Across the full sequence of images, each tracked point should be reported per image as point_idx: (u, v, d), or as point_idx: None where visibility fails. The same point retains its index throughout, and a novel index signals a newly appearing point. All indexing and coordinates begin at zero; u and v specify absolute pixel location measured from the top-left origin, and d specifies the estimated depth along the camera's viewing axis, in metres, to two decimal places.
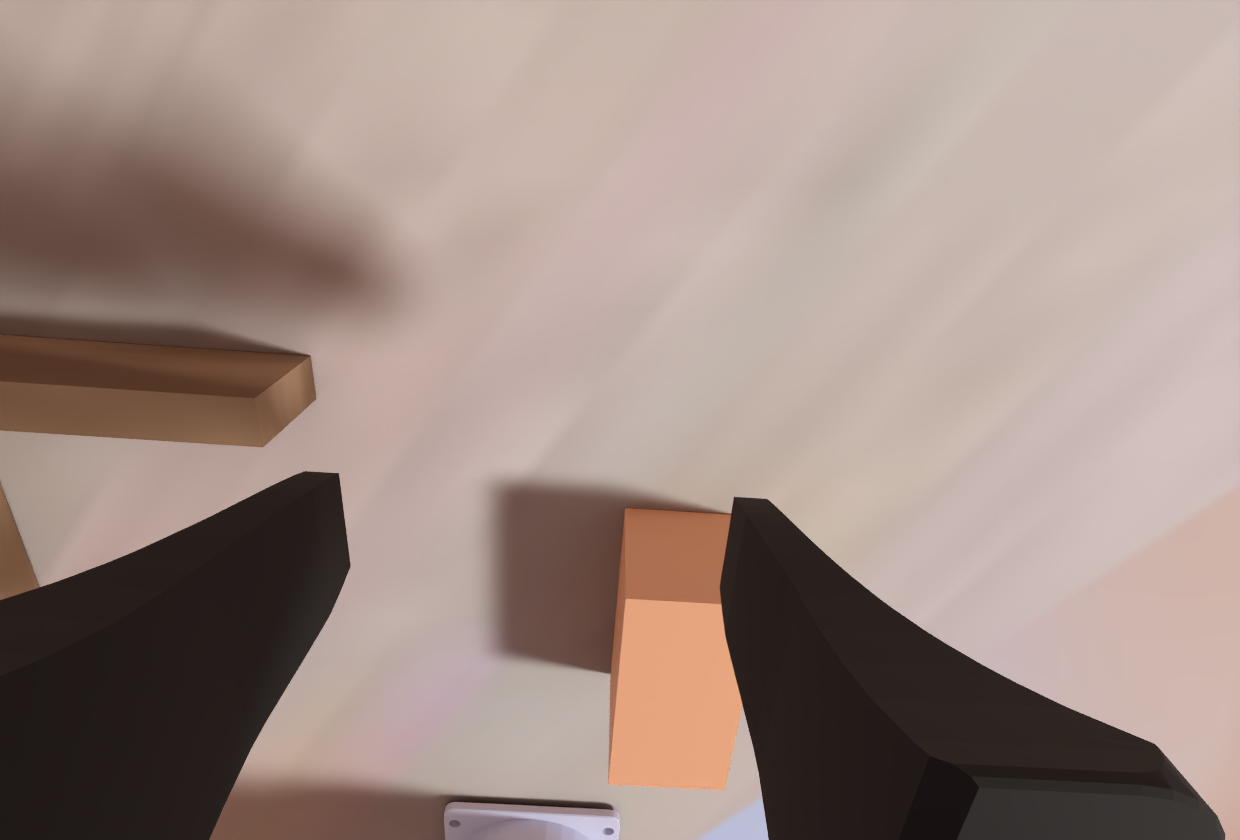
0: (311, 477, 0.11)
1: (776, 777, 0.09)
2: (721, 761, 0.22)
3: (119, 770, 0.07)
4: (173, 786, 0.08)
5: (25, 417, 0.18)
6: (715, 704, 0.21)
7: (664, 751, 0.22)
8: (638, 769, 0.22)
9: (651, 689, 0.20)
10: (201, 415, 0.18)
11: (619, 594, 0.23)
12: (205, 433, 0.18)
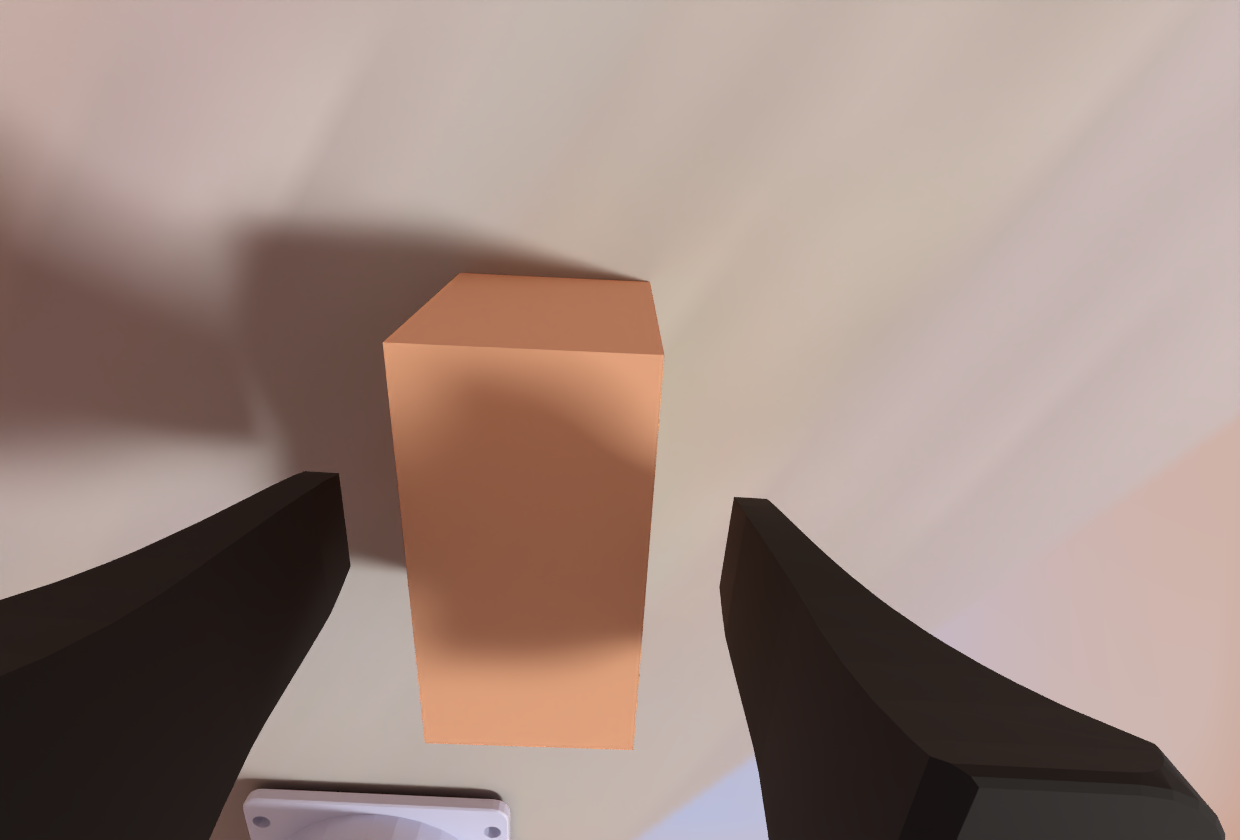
0: (312, 477, 0.11)
1: (776, 777, 0.09)
2: (620, 695, 0.12)
3: (119, 770, 0.07)
4: (173, 786, 0.08)
5: None
6: (596, 579, 0.11)
7: (515, 678, 0.12)
8: (473, 713, 0.12)
9: (470, 552, 0.11)
10: None
11: None
12: None
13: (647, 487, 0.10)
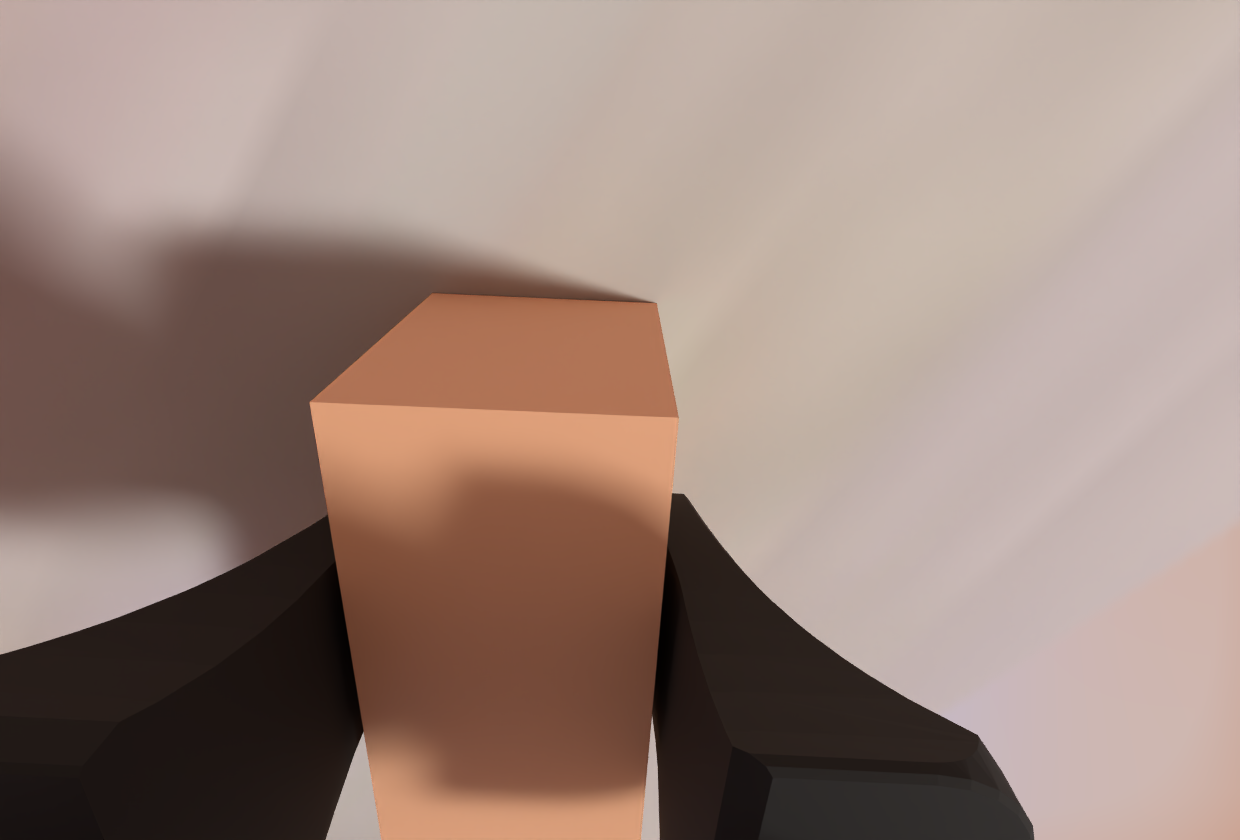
0: None
1: (665, 772, 0.09)
2: (622, 815, 0.10)
3: (263, 777, 0.07)
4: (300, 792, 0.08)
5: None
6: (592, 686, 0.09)
7: (493, 797, 0.10)
8: (443, 835, 0.10)
9: (432, 654, 0.09)
10: None
11: None
12: None
13: (656, 579, 0.08)
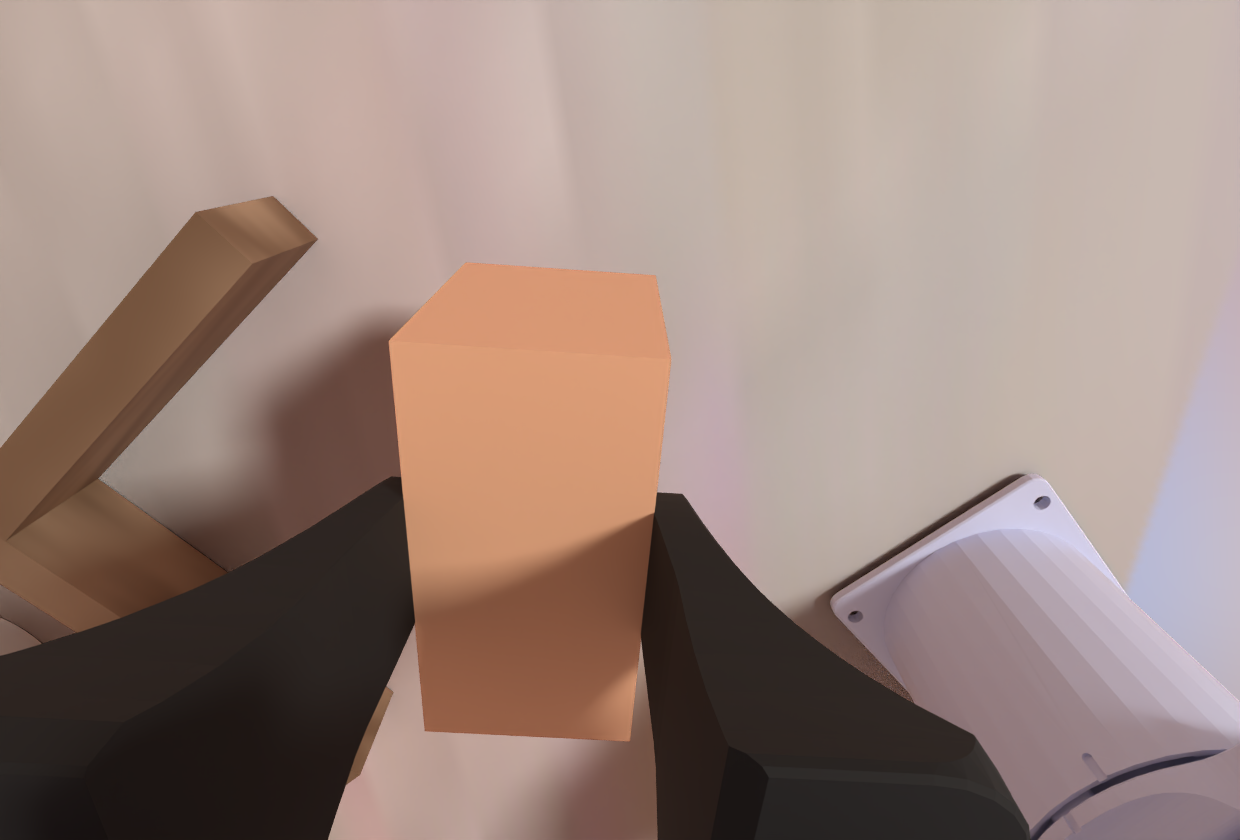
0: None
1: (663, 771, 0.09)
2: (618, 689, 0.12)
3: (266, 777, 0.07)
4: (303, 792, 0.08)
5: (86, 419, 0.16)
6: (597, 577, 0.11)
7: (515, 671, 0.12)
8: (473, 704, 0.12)
9: (472, 548, 0.11)
10: (180, 279, 0.15)
11: None
12: (201, 297, 0.15)
13: (650, 489, 0.10)
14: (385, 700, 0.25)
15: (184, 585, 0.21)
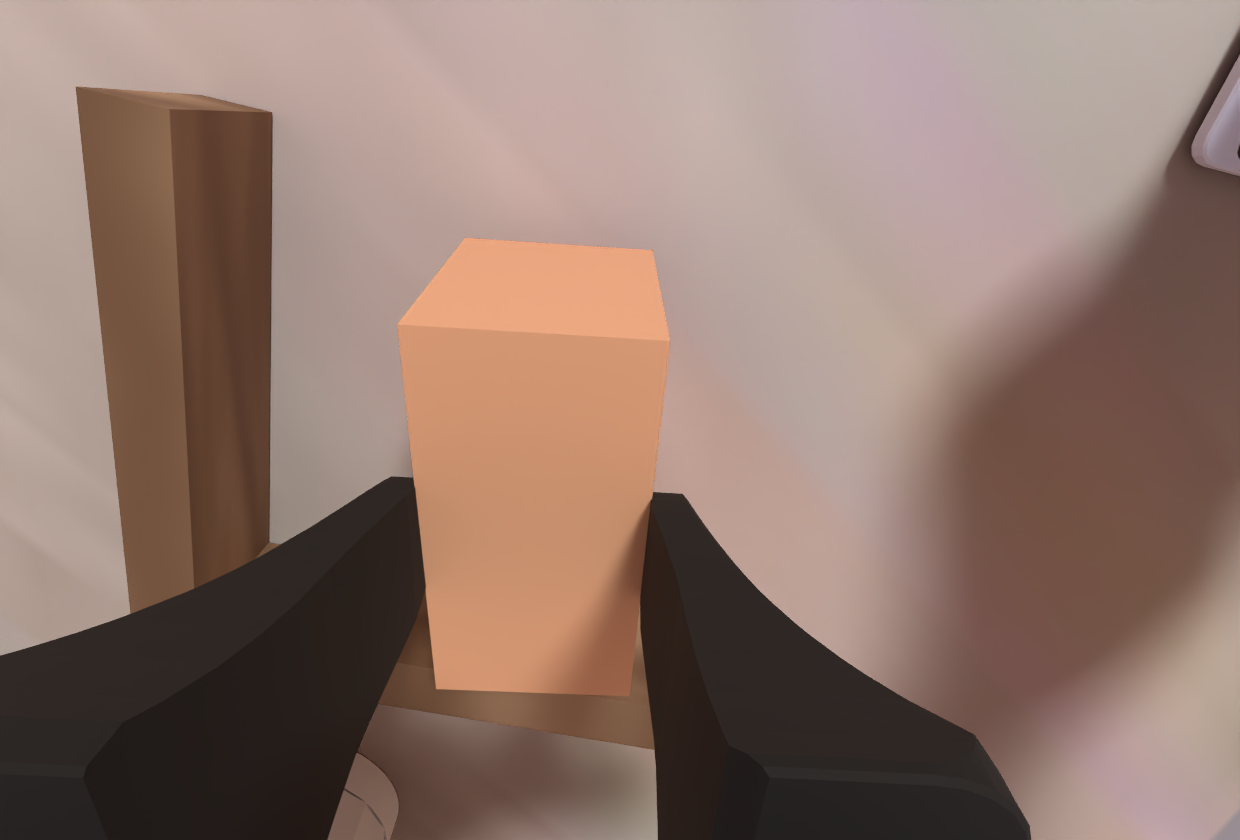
0: (401, 482, 0.11)
1: (663, 771, 0.09)
2: (619, 648, 0.13)
3: (266, 777, 0.07)
4: (302, 792, 0.08)
5: (163, 438, 0.13)
6: (599, 546, 0.12)
7: (521, 633, 0.13)
8: (481, 663, 0.13)
9: (480, 520, 0.11)
10: (122, 191, 0.11)
11: None
12: (156, 199, 0.12)
13: (650, 463, 0.11)
14: None
15: None
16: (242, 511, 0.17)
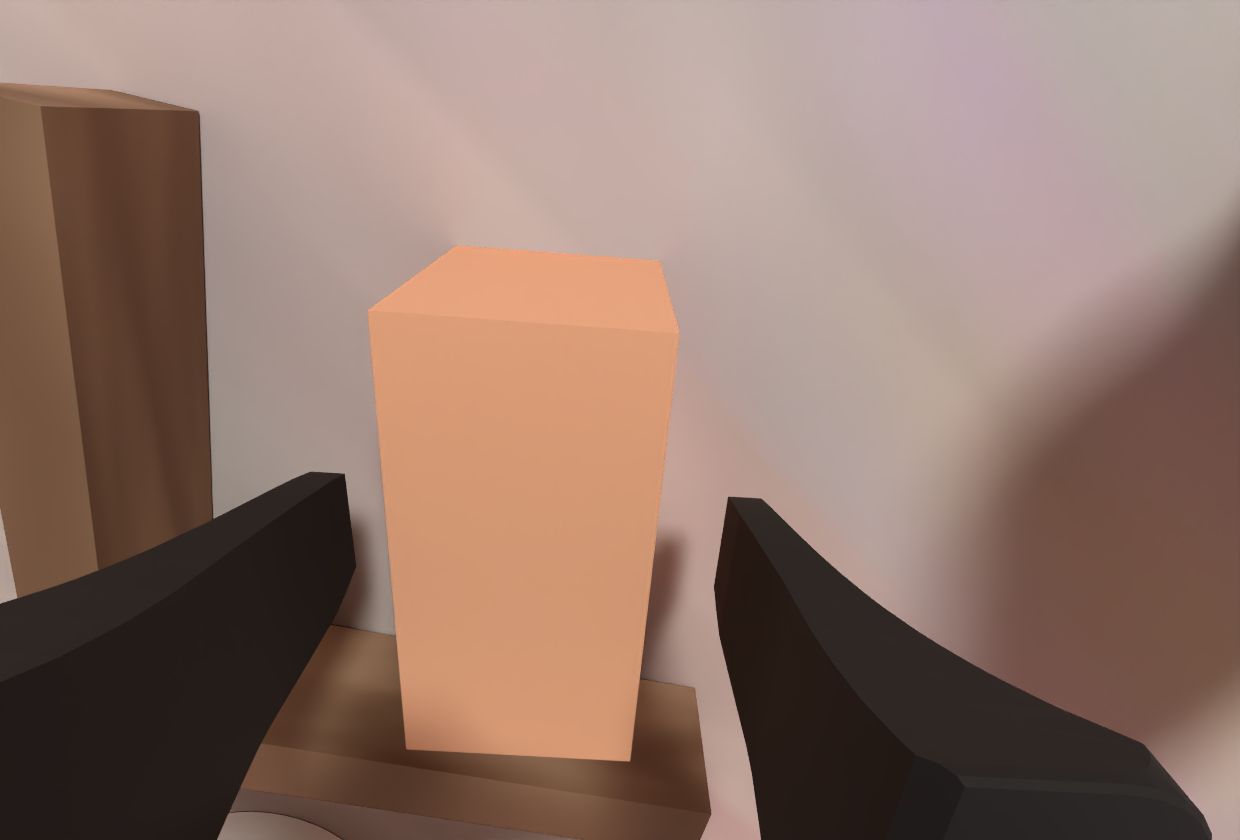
0: (318, 477, 0.11)
1: (768, 777, 0.09)
2: (618, 703, 0.11)
3: (129, 770, 0.07)
4: (182, 786, 0.08)
5: (62, 507, 0.11)
6: (596, 578, 0.10)
7: (505, 682, 0.11)
8: (459, 719, 0.11)
9: (459, 545, 0.10)
10: None
11: None
12: (32, 219, 0.09)
13: (655, 479, 0.09)
14: (690, 702, 0.17)
15: (365, 676, 0.15)
16: None
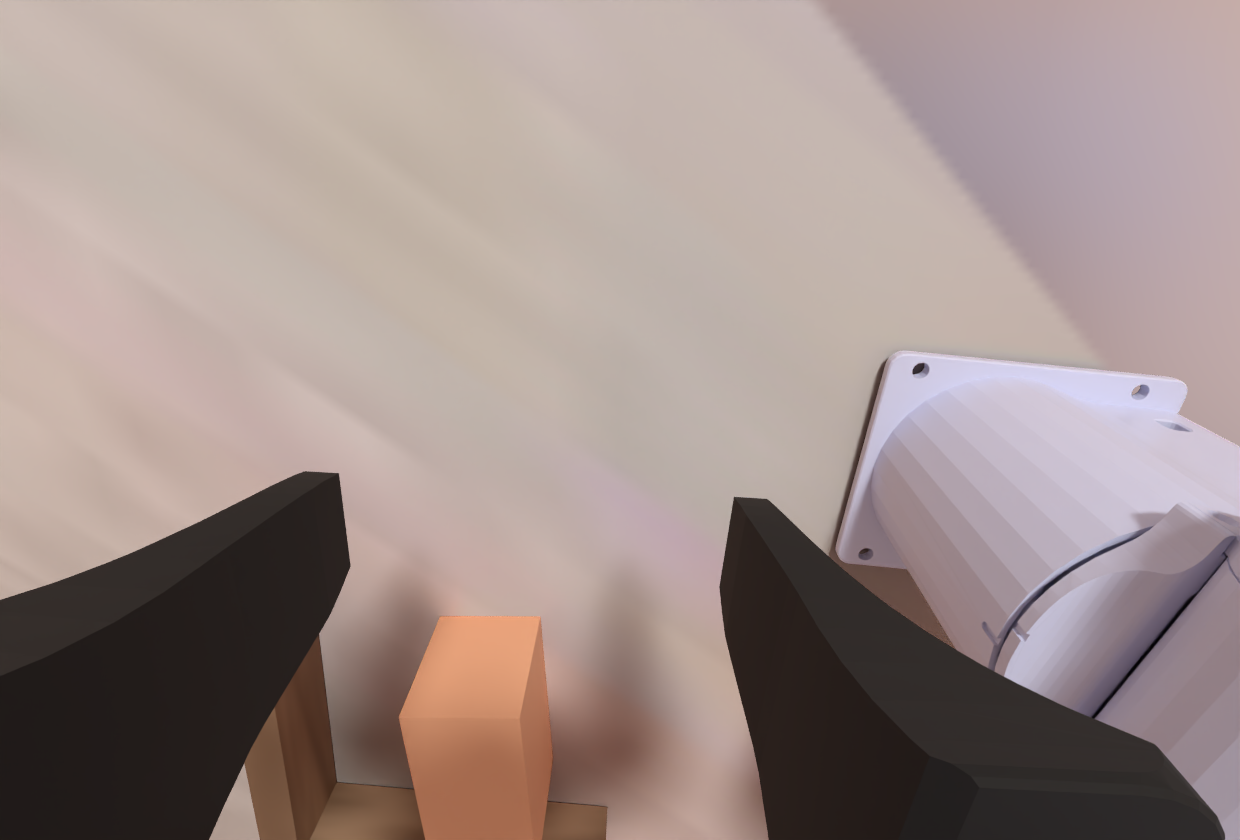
0: (312, 477, 0.11)
1: (776, 777, 0.09)
2: None
3: (119, 770, 0.07)
4: (173, 786, 0.08)
5: (273, 774, 0.25)
6: (505, 800, 0.23)
7: None
8: None
9: (444, 791, 0.23)
10: None
11: None
12: None
13: (522, 765, 0.22)
14: (603, 817, 0.30)
15: (419, 820, 0.29)
16: (318, 780, 0.28)
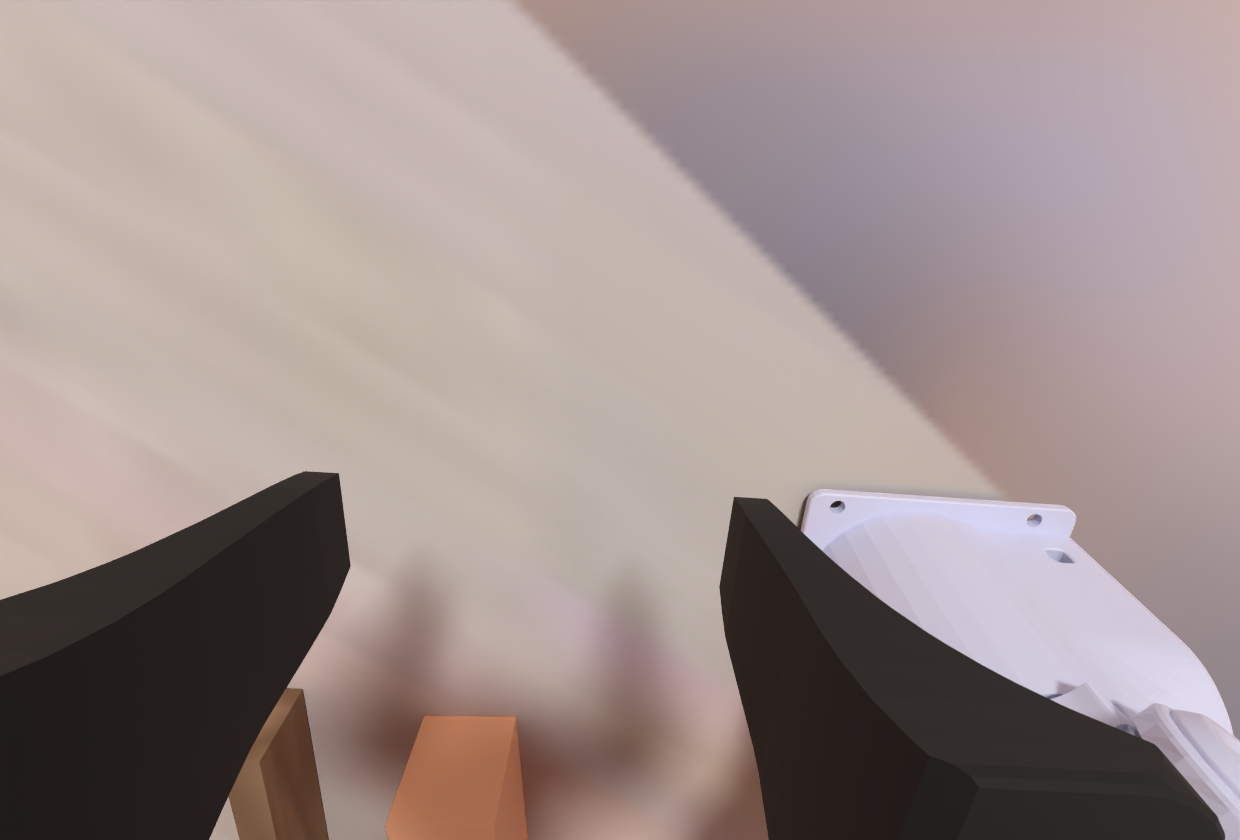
0: (312, 477, 0.11)
1: (776, 777, 0.09)
2: None
3: (119, 770, 0.07)
4: (173, 786, 0.08)
5: None
6: None
7: None
8: None
9: None
10: (242, 788, 0.25)
11: None
12: (257, 789, 0.25)
13: None
14: None
15: None
16: None
